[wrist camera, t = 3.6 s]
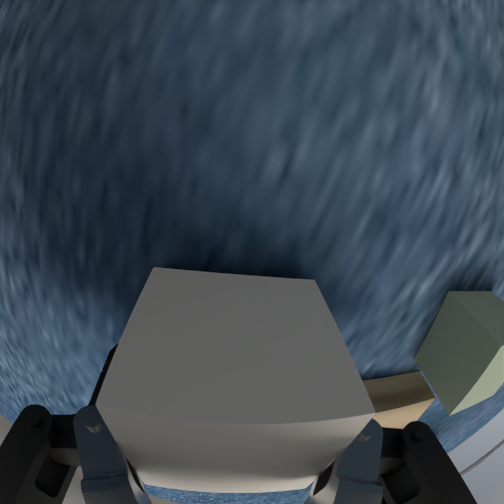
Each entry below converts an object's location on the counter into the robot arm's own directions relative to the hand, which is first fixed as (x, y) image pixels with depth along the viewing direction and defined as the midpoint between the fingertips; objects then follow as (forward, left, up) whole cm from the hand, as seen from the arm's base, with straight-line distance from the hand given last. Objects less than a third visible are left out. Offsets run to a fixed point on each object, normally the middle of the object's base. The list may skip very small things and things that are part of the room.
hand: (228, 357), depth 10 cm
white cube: (0, 0, -1) cm, 1 cm away
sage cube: (0, +14, -2) cm, 14 cm away
